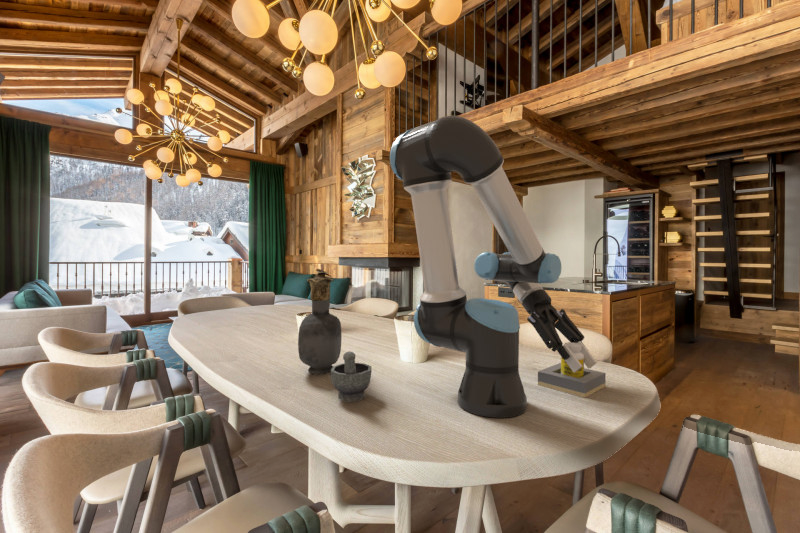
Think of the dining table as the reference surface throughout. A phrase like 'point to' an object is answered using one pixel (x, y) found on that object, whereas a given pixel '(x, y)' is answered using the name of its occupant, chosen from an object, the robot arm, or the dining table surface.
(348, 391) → the mortar and pestle
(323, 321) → the dark decorative bottle
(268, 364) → the dining table surface
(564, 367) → the supplement bottle
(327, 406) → the dining table surface
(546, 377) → the socket block
